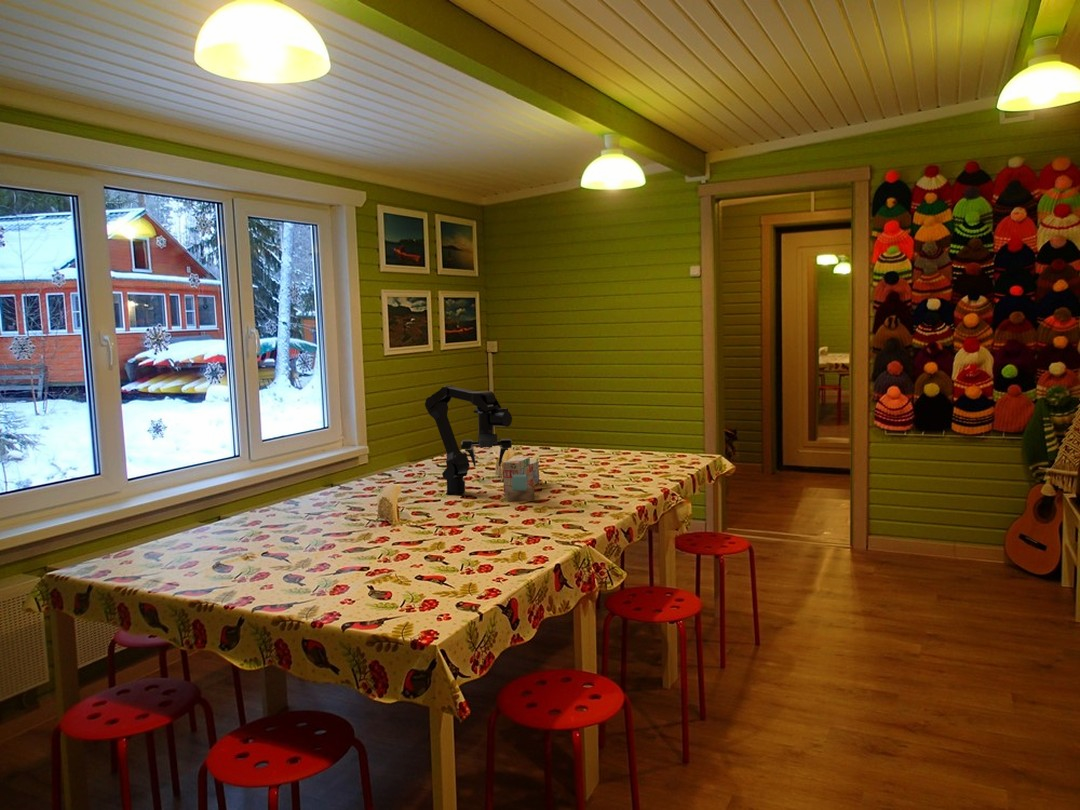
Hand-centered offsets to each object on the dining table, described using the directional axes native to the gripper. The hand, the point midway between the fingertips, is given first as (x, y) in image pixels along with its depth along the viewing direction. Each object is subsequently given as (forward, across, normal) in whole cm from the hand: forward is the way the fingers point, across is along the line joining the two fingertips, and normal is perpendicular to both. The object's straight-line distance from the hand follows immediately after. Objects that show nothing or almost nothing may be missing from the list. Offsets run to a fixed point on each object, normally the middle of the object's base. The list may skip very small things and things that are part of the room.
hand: (487, 466), depth 304 cm
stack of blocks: (+12, +13, +18) cm, 25 cm away
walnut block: (+12, +12, -2) cm, 17 cm away
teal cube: (+8, +12, -2) cm, 15 cm away
